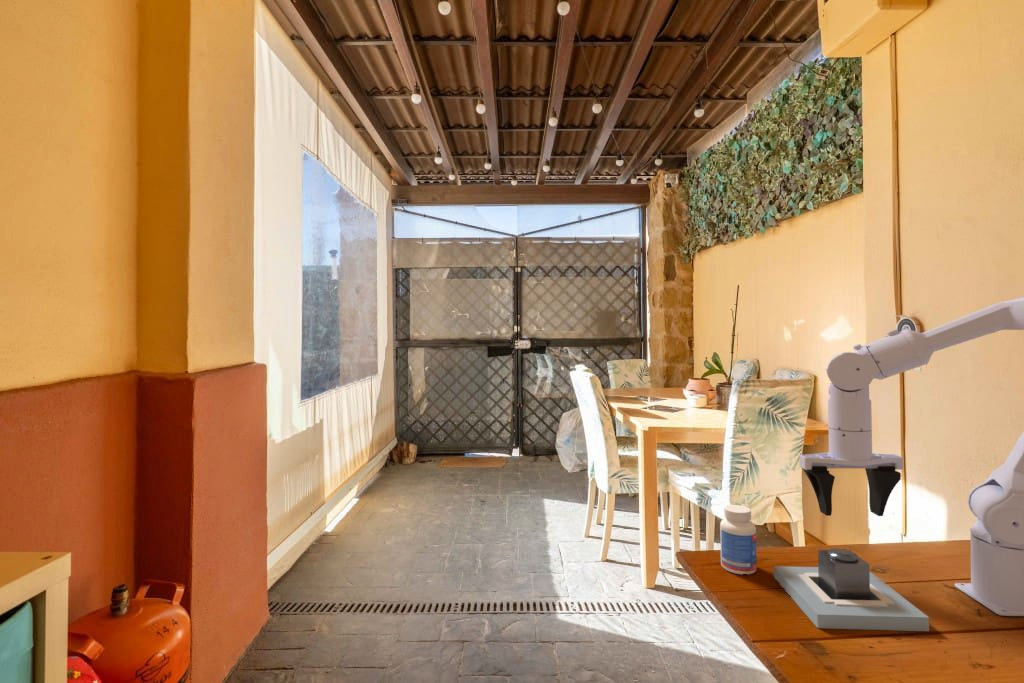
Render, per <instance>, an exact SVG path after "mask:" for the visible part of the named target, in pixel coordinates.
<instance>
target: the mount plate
mask: <svg viewBox="0 0 1024 683" xmlns="http://www.w3.org/2000/svg"><path fill="white" fill-rule="evenodd" d="M773 579H775V581H776V580H777V581H778V582H779V583H780V584H779V583H778V582H777V581H776V582H777V583H778V584H779V585H780V586H781V587H782V589H783V588H784V589H785V590H784V589H783V590H784V591H785V592H786V593H787V595H788V596H789V595H790V596H791V597H790V596H789V597H790V598H791V599H792V600H793V602H794V603H795V604H796V605H797V606H798V607H799V608H800V610H801V611H802V612H803V613H804V614H805V615H806V616H807V618H808V619H809V620H810V621H811V622H812V623H813V625H814V626H815V627H816V628H817V629H831V630H832V629H834V630H836V629H837V630H868V631H869V630H870V631H906V632H914V631H915V632H929V631H930V617H929V616H928V615H927V614H925V612H922V611H921V610H920V609H919V608H917V607H916V606H915V605H914V604H913V603H911V602H910V601H908V600H907V599H906V598H904V596H902V595H901V594H900V593H898V592H897V591H896V590H894V589H893V588H892V587H890V586H889V585H888V584H887V583H886V582H884V581H883V580H881V578H879V577H877V576H876V575H875V574H874V573H872V571H870V600H836V599H831V598H830V597H829V596H828V595H827V594H826V593H825V592H824V591H822V590H821V589H820V588H819V580H818V566H781V565H780V566H774V565H773Z"/></svg>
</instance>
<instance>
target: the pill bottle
mask: <svg viewBox="0 0 1024 683" xmlns="http://www.w3.org/2000/svg"><path fill="white" fill-rule="evenodd" d="M723 512H724V517H725V518H724V519H722V520H721V521H720V525H719V529H720V530H719V532H720V565H721V567H722V568H723V569H724V570H726V571H728V572H730V573H732V574H737V575H743V574H747V575H752V574H754V573H755V572H756V571H757V567H758V566H757V565H758V562H757V560H758V559H757V557H758V556H757V528H756V527H757V526H756V525H755V523H754V522H752V521H751V519H752V510H751V508H749V507H748V506H744V505H741V504H728V505H725V506H724V511H723Z"/></svg>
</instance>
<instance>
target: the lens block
mask: <svg viewBox="0 0 1024 683" xmlns="http://www.w3.org/2000/svg"><path fill="white" fill-rule="evenodd" d="M817 556H818V557H817V567H818V580H819V588H820V589H821V590H822V591H824V592H825V593H826V594H827V595H828V596H829V597H830V598H831V599H836V600H870V572H871V571H870V563H869V562H867V561H866V560H865V559H863V558H861V557H860V556H859V555H858V554H857V553H856V552H854V551H852V550H851V549H843V548H829V549H817Z"/></svg>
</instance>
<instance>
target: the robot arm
mask: <svg viewBox="0 0 1024 683" xmlns="http://www.w3.org/2000/svg"><path fill="white" fill-rule="evenodd" d="M1004 330H1006V331H1008V330H1009V331H1024V296H1020V297H1014V298H1012V299H1008V300H1003V301H1000V302H996V303H993V304H991V305H989V306H986V307H983V308H981V309H979V310H976V311H973V312H971V313H968V314H965V315H963V316H961V317H958V318H956V319H953V320H951V321H949V322H945V323H943V324H941V325H939V326H936V327H934V328H931V329H929V330H925V331H924V332H920V331H919V332H918V331H915V330H912V329H908V328H906V329H903V330H900V331H899V330H898V329H896V328H894V329H893V330H889V331H886V334H887V336H885V337H882V338H879V339H876V340H874V341H872V342H869V343H866V344H863V345H861V344H860V343H858V344H856V345H853V347H852V348H853V350H854V351H855V352H850V351H848V352H847V351H844V352H841V353H838V354H835V355H834V356H833V357H832V358H831V359H830V360H829V363H828V364H827V368H826V369H825V370H826V374H827V378H828V379H829V381H830V382H829V386H828V395H829V397H828V398H827V421H828V424H827V425H828V426H827V427H828V428H827V429H828V452H827V451H826V452H819V453H810V454H809V453H808V454H799V455H798V456H799V458H798V460H799V465H798V466H799V468H801V469H803V471H804V473H805V476H806V477H807V478H808V480H809V483H810V484H811V486H812V489H813V491H814V494H815V497H816V500H817V502H818V508H819V512H820V513H822V514H823V515H825V516H829V517H831V516H832V512H833V500H832V499H833V498H832V497H833V495H832V494H833V487H834V482H835V476H834V475H833V474H831V473H830V470H828V469H864V470H865V473H866V477H867V484H868V492H869V493H868V494H869V500H868V501H869V510H870V512H871V513H872V514H874V515H876V516H878V517H883V516H884V513H885V509H886V506H887V503H888V501H889V497H890V496H891V493H892V492H893V490H894V488H895V487H896V486H897V484H898V483H899V482H900V481H901V478H902V473H901V472H899V470H904V457H902V456H900V455H898V454H892V453H891V454H888V453H873V429H872V428H873V425H872V424H873V422H872V420H873V419H872V399H870V384H871V383H872V381H873V380H874V379H876V380H880V381H882V380H884V379H887V378H890V377H892V376H893V377H894V376H896V375H899V374H901V373H905V372H907V371H910V370H914V369H916V368H920V367H922V366H926V365H928V363H929V362H930V360H931V357H932V355H933V354H934V353H935V352H938V351H941V350H944V349H947V348H950V347H953V346H957V345H960V344H962V343H965V342H968V341H973V340H975V339H977V338H978V339H979V338H981V337H984V336H987V335H991V334H994V333H997V332H1000V331H1004ZM897 470H898V471H897ZM967 505H968V508H969V509H970V511H971V513H972V514H973V515H974V517H976V518H977V519H976V521H975V523H974V524H973V525H971V527H970V582H966V583H965V582H955V583H954V587H955V588H956V589H958V590H960V591H961V592H963V593H964V594H966V595H967V596H969V597H970V598H972V599H973V600H975V601H977V602H978V603H980V604H981V605H983V606H984V607H986V608H987V609H989V610H990V611H992V612H993V613H995V614H997V615H998V616H1003V617H1004V616H1006V617H1007V616H1008V617H1024V430H1023V431H1022V432H1021V434H1020V436H1019V438H1018V439H1017V441H1016V443H1015V444H1014V446H1013V447H1012V449H1011V452H1010V453H1009V454H1008V456H1007V458H1006V460H1005V461H1004V463H1002V465H1000V466H999V467H997V468H996V469H994V470H993V471H991V473H990V474H989V476H988V478H987V479H986V480H985V481H983V482H982V483H980V484H978V485H976V486H975V487H973V489H971V490H970V492H969V494H968V497H967Z"/></svg>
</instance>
